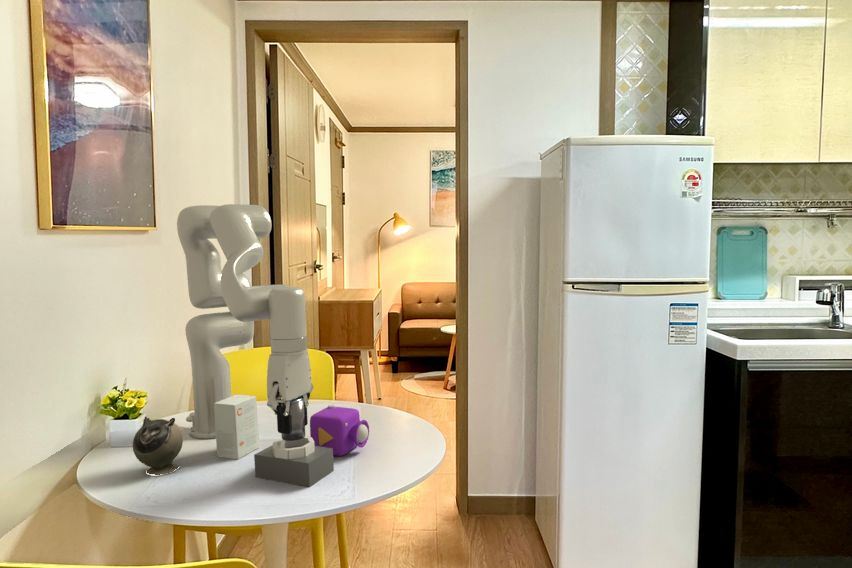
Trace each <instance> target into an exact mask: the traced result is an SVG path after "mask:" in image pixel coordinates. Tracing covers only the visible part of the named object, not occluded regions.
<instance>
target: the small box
mask: <svg viewBox="0 0 852 568" xmlns="http://www.w3.org/2000/svg"><path fill="white" fill-rule="evenodd" d="M257 404H258V403H257V396H255V395H248V394H247V395H246V394H234V395H231V397H229V398H226V399H224V400H221V401H219V402H216V403H214V414H215V429H216V438H215V441H216V443H215V444H216V456H217V457H219V458H226V459H232V460H239V459H240V458H243V457H245V456H246V455H248V454H250V453H252V452H254V451H256V450H258V449H259V448H260V441H259V423H258V422H259V421H258V405H257Z"/></svg>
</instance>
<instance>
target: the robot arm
mask: <svg viewBox="0 0 852 568" xmlns="http://www.w3.org/2000/svg"><path fill="white" fill-rule="evenodd" d="M176 220H177V221H176V229H177V235H178V239H179V242H180V245H181V247H182V250H183V253H184V256H185V261H186V262H185V263H186V276H187V288H188V296H189V301H190V305H192V306H193V307H194V308H196V309H201V310H202V309H203V310H204V309H205V310H206V309H216V308H217V309H218V308H228V310H229V311H221V312H220V311H219V312H213V313H212V312H211V313H204V314H199V315H198V314H197V315H195V316H194V317H191V318H190V319H189V320H188V321H187V322H186V325H185V337H186V342H187V346H188V351H189V356H190V364H191V365H190V366H191V378H192V379H191V380H192V393H193V394H192V395H193V408H194V409H193V410H194V412H189V415H188V416H186V418H185V421H186V422H187V423H188V422H189V423H192V425H191V426H192V427H190V428H189V429H188V433H189V436H190V437H191V438H195V439H216V429H215V414H214V403H216V402H219V401H221V400H224V399H226V398H229V397H231V396H232V382H231V367H230V366H231V365H230V362H229V360H228V358H226V357H225V356H224V355H223V354H222V352H221V351H220V350H221V349H225V348H231V347H232V348H233V347H238V346H242V345H243V346H244V345H247V344H249V343H250V342H251V341H252V340H253V338H254V335H255V322H256V321H264V320H269V334H270V335H269V337H270V354H269V356H268V360H267V361H268V362H267V370H266V395H267V402H266V405H267V407H269V408H270V409H271V410H272V411H273V412H274V415H275V416H276V424H277V427H276V428H277V432H278V433H279V434H281V433H284V434H290V433H291V432H292V429H291V415H288V414H289V407H290V401H291V400H293V399H295V398H298V397H302V398H303V399H304V415H305V427H306V426H308V423H309V422H308V407H309V399H310V398H311V394H312V392H313V390H314V385H313V383H312V371H311V362H310V355H309V350H308V337H307V336H308V334H307V333H308V332H307V315H306V296H305V291H304V289H302V288H301V287H297V286H288V285H286V284H269V285H267V284H264V285H253V286H251V282H250V281H249V278H248V276H247V275H246V274H245V272H248V271H249V270H251V269H252V268H253V267H256V266H257V265H258V264H259V263H260V261H261V260H262V259H263V257H264V248H263V245H262V244H261V242H260V239H264V238H267V237H268V236H269V235H270V233H271V231H272V227H273V226H272V219H271V216H270V213H269V211H268V210H267V209H266V208H264V207H263V206H262V205H259V204H236V203H235V204H234V203H233V204H231V203H230V204H222V205H210V204H207V205H205V204H204V205H203V204H201V205H191V206H187V207H184V208H183V209H181V211H179V213H178V216H177V219H176ZM210 239H216V240H217V242H218V244H219V246H220V248H221V251H222V252H223V254H224V256H225V259H226V262H225V264H224V265H223V268H222V264H221V263H222V261H221V259H222V258H221V254H220V251H219V250H218V249H217V247H216V246H215V245H214V244H213V243H212V241H210ZM281 399H282V400H281ZM281 403H284V408H283V407H282V406H281Z"/></svg>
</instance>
